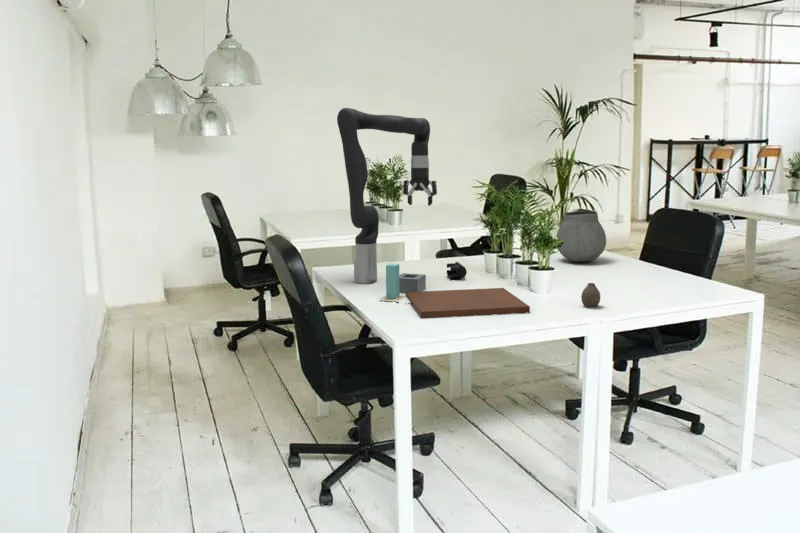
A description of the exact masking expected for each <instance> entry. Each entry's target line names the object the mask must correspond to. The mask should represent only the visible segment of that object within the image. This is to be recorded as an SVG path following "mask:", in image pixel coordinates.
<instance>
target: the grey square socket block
mask: <svg viewBox="0 0 800 533" xmlns="http://www.w3.org/2000/svg"><path fill="white" fill-rule="evenodd" d="M426 280H427V276H426V274H422V273H409V272H407V273H406V272H405V273H399V287H400V294H406V292H420V291H425V290H427V281H426Z"/></svg>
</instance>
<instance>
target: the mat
mask: <svg viewBox="0 0 800 533" xmlns="http://www.w3.org/2000/svg"><path fill="white" fill-rule="evenodd" d="M405 297H406V295H400V297H398V298H397V299H391V298H386V295H384V296H382V297H380V298H379V302H381V301H384V303H393V302H395V303H396V304H400V303H399V302H400V300H402V299H404V298H405ZM406 298H407V297H406Z"/></svg>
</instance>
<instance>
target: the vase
mask: <svg viewBox="0 0 800 533" xmlns="http://www.w3.org/2000/svg"><path fill="white" fill-rule="evenodd" d="M580 297H581V299H580V300H581V303H582V305H583V306H584V307H585V306H586V307H585V308H589V307H594V308H597V306H599V304H600V302H601V292H600V291H599V289H598V287H597V286H596V284H595V283H594V282H588V283H587V285H586V287H585V288H584V289H583V290H582V292H581V296H580Z"/></svg>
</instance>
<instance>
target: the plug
mask: <svg viewBox="0 0 800 533" xmlns="http://www.w3.org/2000/svg"><path fill="white" fill-rule="evenodd" d="M399 275H400V264H399V263H389V264H388V263H387V264H386V265H385V281H386V282H385V287H386V288H385V292H386V293H385V294H386V295H385V296H386V298H391V299H397V298H398V297H400V296H401V295H400V294H401V293H400V287H399Z"/></svg>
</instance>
